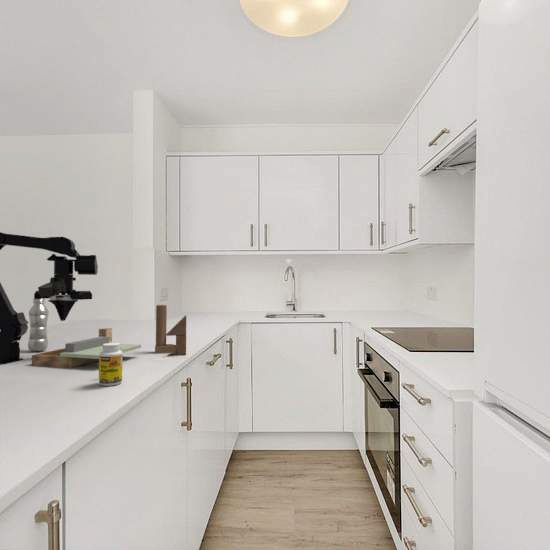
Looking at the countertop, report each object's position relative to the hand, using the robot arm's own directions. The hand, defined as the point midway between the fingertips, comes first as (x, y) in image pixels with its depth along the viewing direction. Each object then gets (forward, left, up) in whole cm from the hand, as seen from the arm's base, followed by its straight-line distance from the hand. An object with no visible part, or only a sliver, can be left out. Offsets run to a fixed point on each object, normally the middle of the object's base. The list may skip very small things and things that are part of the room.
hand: (62, 320), depth 130 cm
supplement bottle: (+36, -23, -13) cm, 45 cm away
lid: (+19, -4, -9) cm, 21 cm away
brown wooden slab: (+9, -4, -13) cm, 16 cm away
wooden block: (+31, +17, -13) cm, 38 cm away
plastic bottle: (-20, +10, -13) cm, 26 cm away
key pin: (+6, +14, -13) cm, 20 cm away
